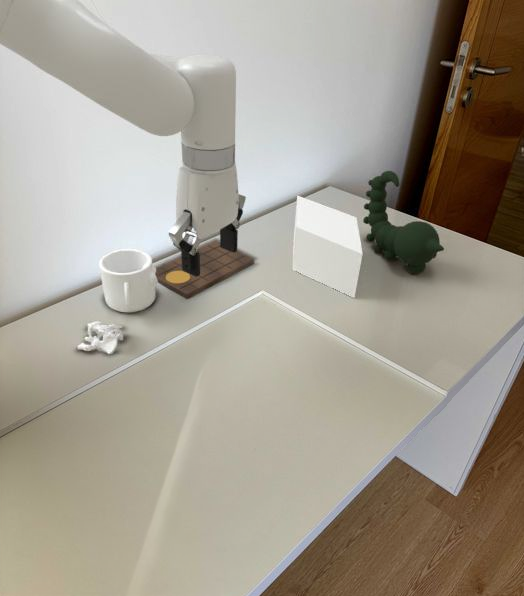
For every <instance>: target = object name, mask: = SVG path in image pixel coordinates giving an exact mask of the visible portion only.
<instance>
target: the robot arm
mask: <svg viewBox="0 0 524 596" xmlns="http://www.w3.org/2000/svg"><path fill="white" fill-rule="evenodd" d="M0 45H1V46H3V47H5V48H6V49H8V50H10V51H11V52H13V53H15V54H17V55H18V56H20V57H22V58H23V59H25V60H27V61H28V62H30V63H31V64H32V65H34V66H35V67H37V68H38V69H40V70H42V71H43V72H44V73H46V74H49V75H50V76H52V77H53V78H55V79H57V80H59V81H60V82H62V83H63V84H66V85H67V86H69V87H70V88H72V89H73V90H75V91H77V92H79V94H82V95H83V96H85V97H86V98H88V99H89V100H91V101H92V102H94V103H96V104H97V105H99V106H100V107H102V108H104V109H106V110H107V111H109V112H111V113H112V114H114V115H116V116H118V117H120V118H121V119H123V120H125V121H127V122H128V123H130V124H132V125H134V126H135V127H137V128H139V129H140V130H142V131H145V132H147V133H149V134H150V135H154V136H157V137H171V136H174V135H176V134H179V133H180V141H181V142H180V143H181V162H182V165H181V167H179V168H178V174H177V181H176V182H177V183H176V194H175V219H176V221H175V223H174V224H173V226H172V227H171V228H170V230H169V231H168V237H169V238H170V240H171V242H172V245H173V246H174V247H175V248H177V250H178V251H180V254H181V255H180V257H181V258H182V270H183V271H184V272H186V273H189V274H191V275H193V276H196V277H198V276H199V275H200V254H199V253H198V252H197V249H199V248H200V244H201V242H202V240H203V239H206V238H208V237H210V236H212V235H213V234H215V233H217V232H218V231H219V242H220V247H221V248H223V249H226V250H228V251H231V252H234V253H235V252H236V251H238V242H239V241H238V238H239V237H238V236H239V234H238V233H239V231H238V230H239V229H240V226H241V222H240V220H241V218H242V216H243V214H244V210H243V209H244V206H245V203H246V199H247V197H246V196H245V195H242V194H240V193H239V180H238V171H237V165H236V115H237V114H236V113H237V111H236V108H237V107H236V104H237V103H236V102H237V100H236V99H237V70H236V66H235V63H234V62H233V61H232V60H231V59H229V58H228V57H225V56H222V55H217V54H208V53H207V54H206V53H205V54H204V53H203V54H202V53H200V54H199V53H198V54H192V55H187V56H174V55H163V54H158V53H157V54H156V53H149V52H147V51H145V50H144V49H143V48H142V47H140V46H139V45H137V44H135V42H133V41H131V40H129V38H127V37H126V36H124V35H122V34H121V33H120V32H118V31H117V30H116V29H114V28H113V27H112V26H110V25H109V24H107V23H106V22H105V21H103V20H102V19H101V18H100V17H99V16H97V15H96V14H94V13H93V12H92V11H91V10H89V9H88V7H86V6H85V5H84V4H83V3H82V2H80V0H0ZM192 230H194V231H192ZM190 237H192V238H193V239H192V241H191V244H190V243H189V239H190Z"/></svg>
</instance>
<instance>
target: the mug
mask: <svg viewBox="0 0 524 596" xmlns="http://www.w3.org/2000/svg"><path fill="white" fill-rule="evenodd" d="M98 267H99V273H100V279H101V285H102V291H103V296H104V300H105V303H106V305H107V306H108V307H109V308H111V309H112V310H114V311H117V312H121V313H137V312H140V311H143V310H145V309H147V308H149V307H150V306H151V305H152V304H153V303H154V302H155V300H156V290H157V286H156V285H157V284H158V280H157V277H156V275H155V273H156V268H157V267H155V265H154V264H153V258H152V256H151V255H150V254H149V253H147V252H146V251H143V250H140V249H135V248H122V249H116V250H112V251H110V252H107V253H106V254H104V255H103V256H102V257H100V259H99V262H98Z"/></svg>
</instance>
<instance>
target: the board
mask: <svg viewBox="0 0 524 596" xmlns="http://www.w3.org/2000/svg"><path fill="white" fill-rule="evenodd" d="M197 252H198V253H199V254H200V275H199V276H198V277H196V276H193V275H191V274H189V273H186V272H184V271H183V270H182V258H181V256H179V257H177V258H175V259H173V260H171V261H169V262H167V263H164V264H162V265H160V266H158V267H155V268H156V273H155V275H156V277H157V280H158V282H157V284H160V285H162V286H163V287H165V288H167V289H169V290H170V291H173V292H174V293H176V294H177V295H178V296H181V297H183V298H184V299H186V300H189V299H190V298H192V297H194V296H196V295H198V294H200V293H201V292H203V291H205V290H207V289H209V288H211V287H213V286H215V285H216V284H218V283H221V282H222V281H224V280H225V279H228V278H230V277H232V276H233V275H235V274H237V273H239V272H241V271H243V270H244V269H246V268H248V267H250V266H252V265H254V264H255V258H253V257H251V256H249V255H247V254H245V253H243V252H241V251H239V250H237V251H236V252H235V253H234V252H231V251H228V250H226V249H223V248H221V247H220V241H218V240H214V241H212V242H210V243H207V244H205V245H203V246H201V247H198V249H197Z"/></svg>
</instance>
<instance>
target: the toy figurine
mask: <svg viewBox="0 0 524 596" xmlns="http://www.w3.org/2000/svg"><path fill="white" fill-rule="evenodd" d="M390 182H392V183H393V184H394V186H395V187H397V188H398V187H400V179H399V176H398V175H397V174H396V173H395V172H394V171H392V170H386V171H383V172H381V174H380V175H377V176H375V177H373V178H372V179H368V182H367V184H368V186H370V190H367V191H366V192H365V196H366V197H367V198H369V200H370V201H369V202H368V203H367V202H366V203H365V204H363V209H364V210H367V211H368V215H367V216H365V217H364V218H363V220H362V221H363V223H364V224H366V225H369V226H370V227H371V228H370V233H367V234H366V237H365V239H366V241H367V242H369V243H372V242H374V241H375V244H376V245H375V246H374V248H373V250H374V253H376V254H378V255H380V254H382V253H383V252H384V254H383V255H384V259H385V260H386V261H388V262H391V261H395V260H396V259H397V258H398V259H399V260H400V261H401V262H403V263H404V264H405V265H406V271H407V272H408V273H409V274H413V275H416V274H420V273H422V272H424V271H425V270H426V264H428V263H430V262H431V261H432V260H433V259H436V258H437V255H438V253H439V252H443V251H444V250H445V248H444V246H442V245H441V243H440V241H441V240H440V236H439V234H438V231H437V230H436V228H435V227H434V226H433V225H432V224H430V223H429V222H426V221H420V220H415V221H411V222H409V223H406V224H404V225H402V226H401V225H399V226H396V225H394V224H392V223H391V222H390V221H389V215H388V213H387V208H388V205H387V201H386V198H387V197H388V193H387V190H386V188H387V184H388V183H390Z"/></svg>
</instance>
